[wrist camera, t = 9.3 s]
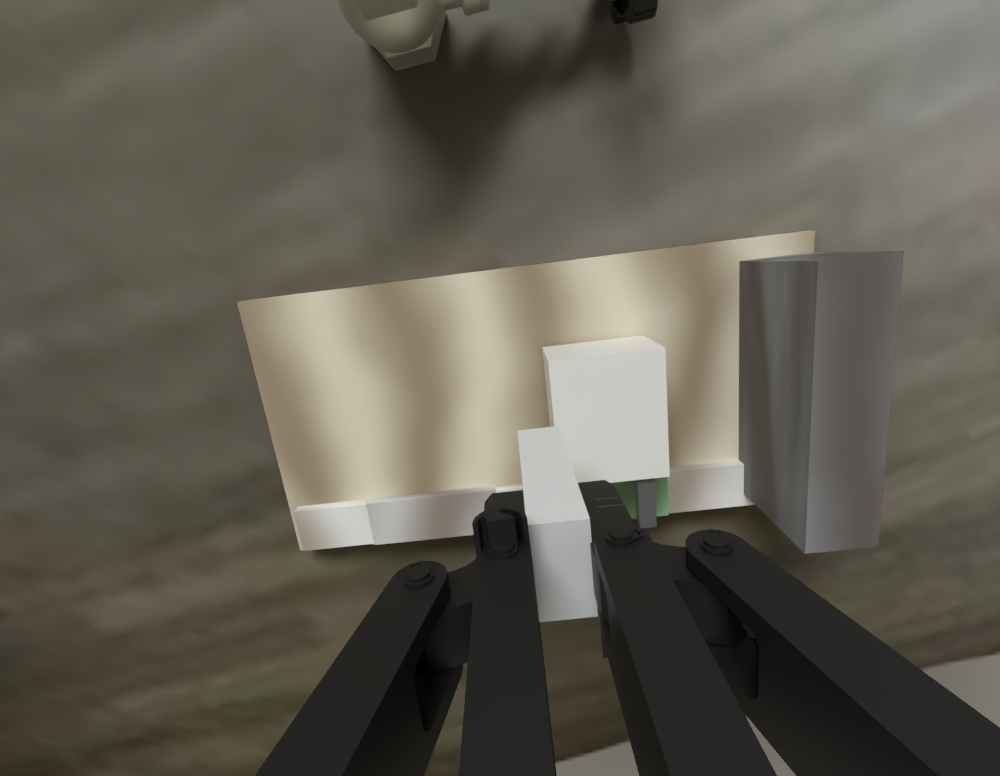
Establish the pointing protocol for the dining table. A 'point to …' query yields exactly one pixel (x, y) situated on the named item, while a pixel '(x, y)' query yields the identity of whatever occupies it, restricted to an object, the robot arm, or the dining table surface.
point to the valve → (436, 24)
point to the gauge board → (523, 398)
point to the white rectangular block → (612, 413)
